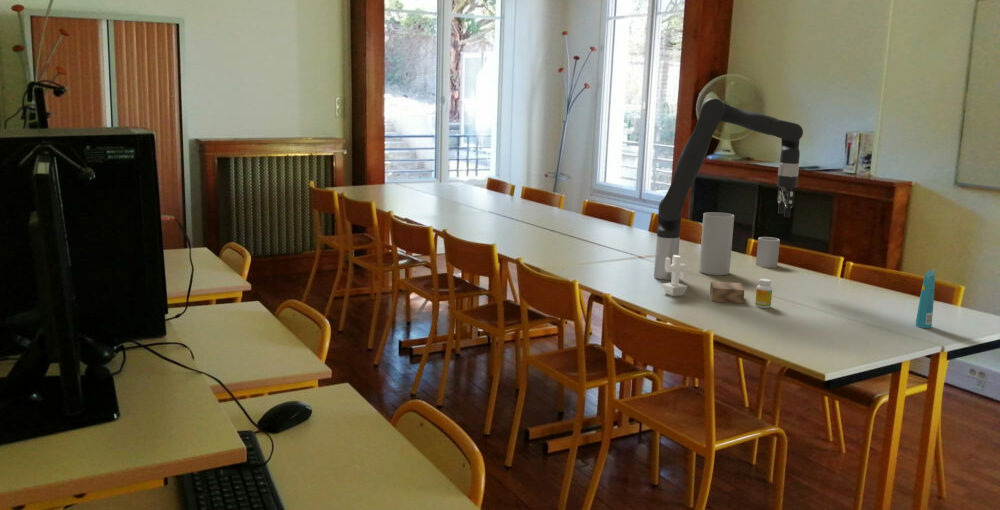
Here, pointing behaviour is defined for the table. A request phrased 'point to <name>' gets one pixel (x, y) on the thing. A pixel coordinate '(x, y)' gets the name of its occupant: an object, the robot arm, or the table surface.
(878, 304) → the table surface
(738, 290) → the walnut block
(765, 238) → the cup
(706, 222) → the cylinder vase
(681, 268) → the figurine
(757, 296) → the supplement bottle
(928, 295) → the tube
